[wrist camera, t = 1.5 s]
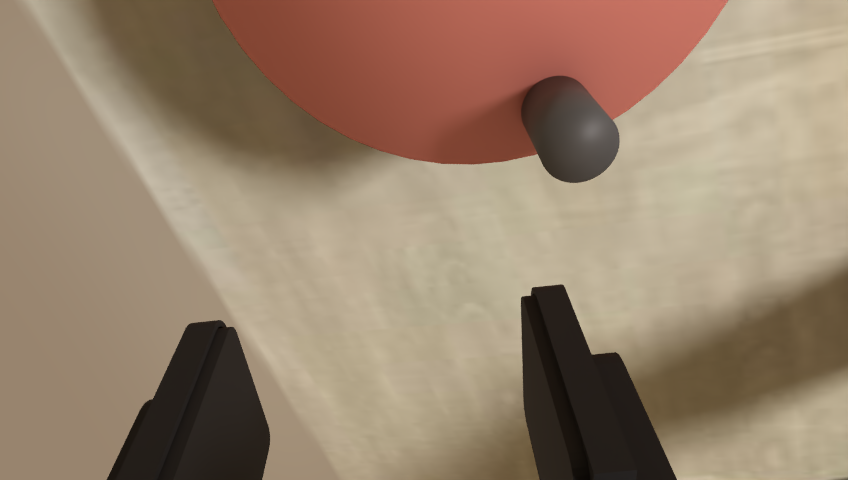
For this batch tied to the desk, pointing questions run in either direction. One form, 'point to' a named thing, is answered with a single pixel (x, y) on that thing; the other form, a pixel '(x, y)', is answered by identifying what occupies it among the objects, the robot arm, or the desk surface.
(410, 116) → the handwheel
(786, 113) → the desk surface
